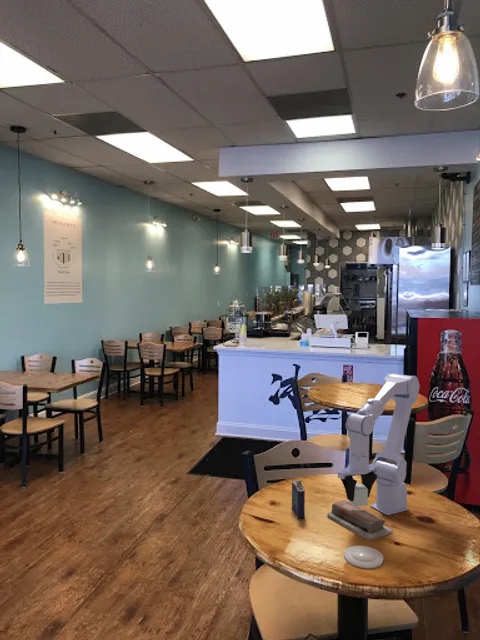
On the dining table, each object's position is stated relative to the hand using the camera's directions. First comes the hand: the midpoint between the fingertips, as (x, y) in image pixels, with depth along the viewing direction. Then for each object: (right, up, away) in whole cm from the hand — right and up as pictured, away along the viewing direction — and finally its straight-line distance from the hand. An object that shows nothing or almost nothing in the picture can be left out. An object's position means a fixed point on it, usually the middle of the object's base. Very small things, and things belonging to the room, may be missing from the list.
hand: (358, 498), depth 148 cm
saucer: (-3, -9, -19) cm, 22 cm away
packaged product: (0, -9, 0) cm, 9 cm away
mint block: (0, -1, 0) cm, 1 cm away
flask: (-17, -8, +7) cm, 20 cm away
